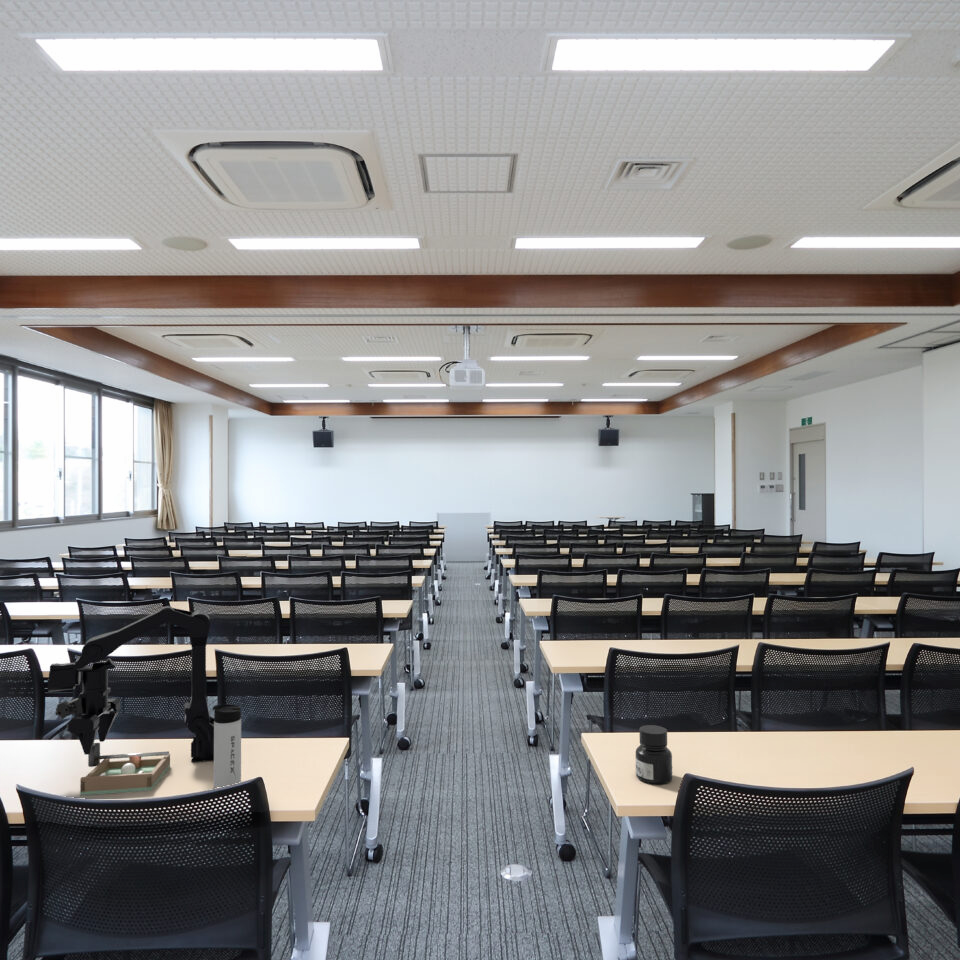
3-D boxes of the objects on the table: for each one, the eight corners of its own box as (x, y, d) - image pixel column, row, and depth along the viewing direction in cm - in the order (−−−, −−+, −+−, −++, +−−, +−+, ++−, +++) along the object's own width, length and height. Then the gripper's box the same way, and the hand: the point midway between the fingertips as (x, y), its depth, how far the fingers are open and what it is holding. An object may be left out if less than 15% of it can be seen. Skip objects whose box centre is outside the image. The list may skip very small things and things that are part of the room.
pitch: (170, 766, 178) (170, 751, 178) (151, 790, 163) (151, 773, 163) (105, 770, 175) (105, 755, 175) (80, 795, 160) (80, 778, 161)
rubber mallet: (170, 763, 177) (170, 738, 177) (167, 767, 174) (167, 741, 175) (90, 768, 174) (91, 743, 174) (86, 772, 172) (86, 746, 172)
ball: (137, 773, 171) (137, 760, 171) (132, 778, 168) (132, 765, 168) (123, 774, 171) (123, 761, 171) (119, 779, 168) (119, 766, 168)
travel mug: (216, 783, 166) (217, 702, 167) (243, 782, 167) (244, 701, 168) (208, 794, 160) (209, 710, 161) (237, 793, 161) (237, 709, 161)
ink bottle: (630, 770, 172) (630, 723, 173) (664, 769, 173) (663, 722, 173) (642, 786, 163) (642, 736, 163) (678, 785, 163) (677, 735, 164)
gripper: (77, 679, 182) (77, 737, 181) (43, 698, 163) (43, 763, 163) (121, 677, 183) (121, 734, 183) (93, 696, 165) (92, 760, 164)
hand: (94, 747), depth 173 cm, fingers open, 9 cm apart
